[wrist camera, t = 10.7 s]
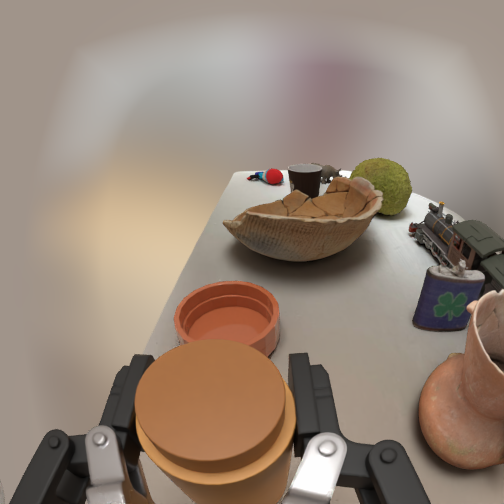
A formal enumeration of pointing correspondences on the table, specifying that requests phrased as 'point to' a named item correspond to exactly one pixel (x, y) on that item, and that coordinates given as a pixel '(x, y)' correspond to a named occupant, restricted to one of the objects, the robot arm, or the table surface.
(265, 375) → the orange lidded canister
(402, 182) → the fruit
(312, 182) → the coffee mug
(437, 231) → the toy train
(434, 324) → the flask
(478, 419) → the ceramic jug
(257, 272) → the table surface
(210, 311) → the terracotta bowl
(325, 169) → the rhino figurine
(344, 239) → the ceramic bowl
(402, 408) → the table surface
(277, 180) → the toy figure
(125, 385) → the robot arm
